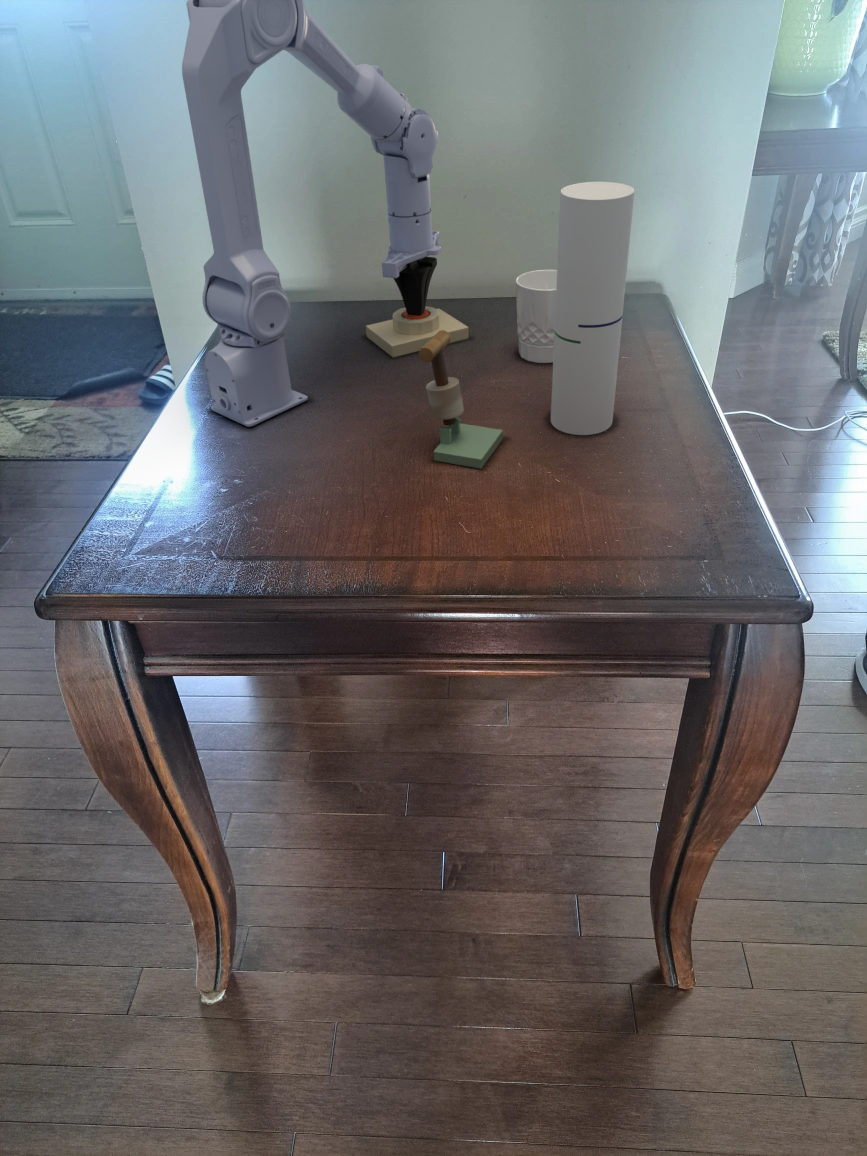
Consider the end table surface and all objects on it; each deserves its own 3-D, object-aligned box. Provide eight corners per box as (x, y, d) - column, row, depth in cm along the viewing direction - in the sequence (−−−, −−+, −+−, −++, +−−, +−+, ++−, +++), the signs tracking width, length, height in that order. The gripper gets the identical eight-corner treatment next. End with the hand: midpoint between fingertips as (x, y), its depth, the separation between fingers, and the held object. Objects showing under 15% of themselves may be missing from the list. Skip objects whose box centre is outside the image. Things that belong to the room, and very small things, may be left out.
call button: (410, 332, 116) (409, 319, 115) (399, 324, 119) (398, 312, 117) (433, 326, 117) (432, 314, 116) (422, 318, 120) (421, 306, 119)
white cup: (572, 342, 115) (576, 268, 109) (574, 365, 109) (578, 289, 103) (515, 342, 116) (516, 269, 110) (513, 365, 110) (515, 290, 104)
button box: (393, 357, 114) (391, 333, 112) (366, 336, 120) (364, 313, 118) (469, 338, 118) (468, 314, 116) (439, 319, 124) (438, 296, 122)
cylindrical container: (611, 436, 93) (633, 199, 78) (547, 433, 95) (557, 199, 79) (613, 408, 99) (634, 181, 83) (553, 405, 100) (563, 181, 85)
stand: (433, 460, 91) (432, 436, 89) (457, 431, 96) (456, 408, 94) (481, 469, 89) (481, 444, 87) (503, 439, 94) (503, 415, 92)
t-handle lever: (408, 347, 85) (440, 346, 84) (427, 330, 89) (457, 329, 87) (426, 432, 91) (456, 432, 89) (443, 413, 94) (472, 413, 92)
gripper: (414, 228, 102) (420, 335, 110) (458, 198, 112) (461, 298, 121) (363, 225, 104) (373, 330, 113) (411, 196, 115) (417, 294, 123)
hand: (415, 313), depth 117 cm, fingers closed, pressing on call button
